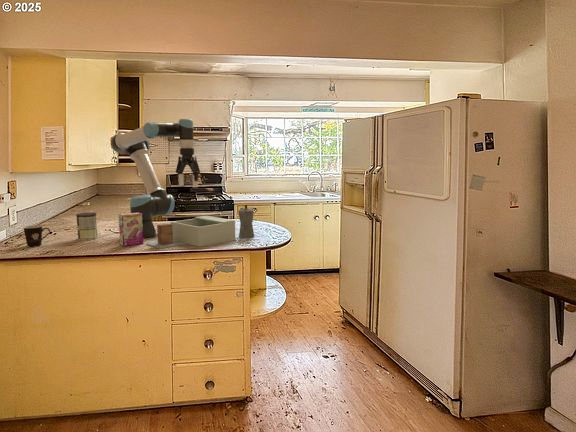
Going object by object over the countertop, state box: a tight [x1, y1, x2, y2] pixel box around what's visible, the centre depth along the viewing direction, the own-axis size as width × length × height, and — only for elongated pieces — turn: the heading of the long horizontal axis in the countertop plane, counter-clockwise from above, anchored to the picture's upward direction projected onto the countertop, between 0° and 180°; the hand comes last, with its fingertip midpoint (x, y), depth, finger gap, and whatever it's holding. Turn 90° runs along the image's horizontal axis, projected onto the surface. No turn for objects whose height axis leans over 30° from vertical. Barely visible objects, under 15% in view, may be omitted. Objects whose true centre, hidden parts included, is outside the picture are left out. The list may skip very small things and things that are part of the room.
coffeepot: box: [237, 204, 255, 239], centre depth 272 cm, size 15×9×18 cm, turn 26°
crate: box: [169, 215, 236, 248], centre depth 263 cm, size 26×24×11 cm
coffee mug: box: [22, 225, 51, 247], centre depth 250 cm, size 12×9×10 cm
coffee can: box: [76, 212, 99, 241], centre depth 267 cm, size 10×10×14 cm
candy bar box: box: [118, 212, 144, 247], centre depth 251 cm, size 11×5×16 cm, turn 131°
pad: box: [146, 240, 186, 250], centre depth 251 cm, size 14×14×1 cm
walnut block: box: [156, 223, 174, 245], centre depth 251 cm, size 5×6×10 cm
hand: (188, 186), depth 266 cm, fingers open, 13 cm apart
